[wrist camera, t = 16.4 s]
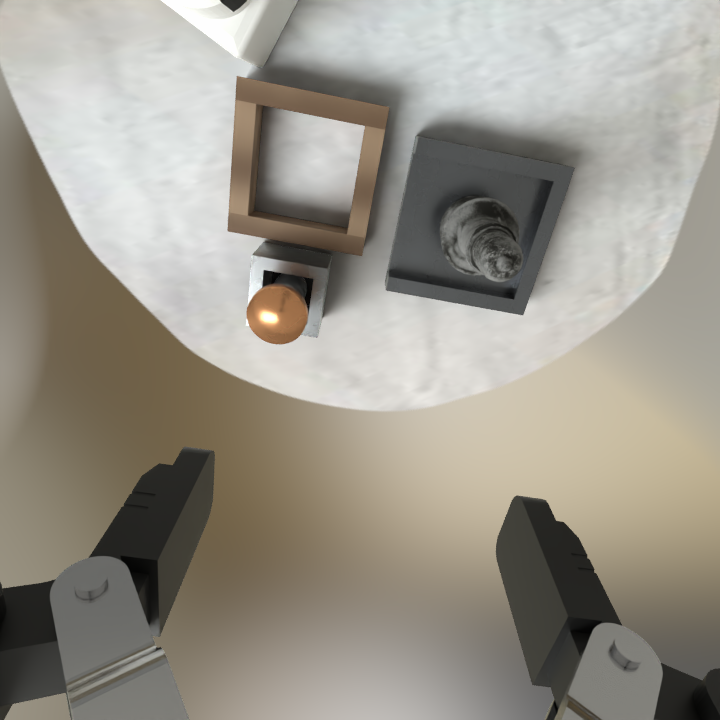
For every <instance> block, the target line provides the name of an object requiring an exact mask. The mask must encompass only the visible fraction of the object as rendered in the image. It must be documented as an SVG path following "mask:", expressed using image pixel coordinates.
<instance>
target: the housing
mask: <svg viewBox="0 0 720 720" xmlns="http://www.w3.org/2000/svg"><path fill="white" fill-rule="evenodd" d="M331 260H332V255H330V254H325V253H320V252H314V251H309V250H303V249H298V248H292V247H287V246H282V245H276V244H271V243H265V242H263V243H262V245H261V246H260V247H259V248H258V249H257V250H256V251H255V252H254V253H253V255H252V262H251V274H250V285H249V297H248V304H249V302H250V300H251V299H252V297H253V296H254V295H255V293H256V292H257V291H258V290H259V289H261V288H262V287H264V286H267V285H270V284H271V279H272V271H273V272H279V273H284V274H290V275H295V276H301V277H306V278H312V279H314V280H313V287H312V294H311V301H310V306H309V305H307V308H308V320H307V323H306V326H305V329H304V331H303V332H302V334H301V335H305V336H310V337H316V338H317V337H318V333H319V329H320V325H321V321H322V317H323V311H324V304H325V298H326V291H327V285H328V279H329V272H330V266H331ZM246 325H247V326H249V324H248V320H247V321H246Z"/></svg>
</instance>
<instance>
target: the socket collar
mask: <svg viewBox="0 0 720 720" xmlns="http://www.w3.org/2000/svg"><path fill="white" fill-rule="evenodd" d="M263 105H264V106H269V107H274V108H279V109H284V110H289V111H294V112H299V113H304V114H309V115H314V116H319V117H324V118H329V119H334V120H339V121H344V122H349V123H354V124H359V125H364V126H365V130H364V136H363V142H362V148H361V154H360V160H359V166H358V171H357V177H356V183H355V189H354V195H353V201H352V207H351V213H350V219H349V225H348V228H344V227H339V226H334V225H328V224H323V223H318V222H312V221H307V220H302V219H297V218H291V217H286V216H281V215H275V214H270V213H265V212H259V211H254V210H255V198H256V186H257V174H258V162H259V149H260V137H261V125H262V113H263ZM388 112H389V107H386V106H381V105H376V104H371V103H366V102H361V101H357V100H352V99H347V98H342V97H337V96H332V95H327V94H322V93H317V92H312V91H307V90H302V89H297V88H293V87H288V86H283V85H278V84H273V83H268V82H263V81H258V80H253V79H248V78H243V77H238V76H237V83H236V100H235V116H234V133H233V150H232V166H231V183H230V200H229V216H228V231H229V232H235V233H240V234H245V235H251V236H256V237H262V238H267V239H273V240H278V241H283V242H289V243H294V244H300V245H305V246H310V247H316V248H321V249H327V250H332V251H337V252H343V253H348V254H354V255H359V256H362V253H363V248H364V242H365V237H366V232H367V226H368V221H369V215H370V210H371V204H372V199H373V194H374V188H375V183H376V177H377V172H378V166H379V161H380V156H381V150H382V145H383V139H384V134H385V128H386V123H387V118H388Z"/></svg>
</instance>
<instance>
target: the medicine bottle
mask: <svg viewBox="0 0 720 720" xmlns="http://www.w3.org/2000/svg"><path fill="white" fill-rule="evenodd" d="M161 1H163V2H164V3H165V4H167V5H168V6H169V7H170V8H172V9H173V10H174V11H176V12H177V13H178V14H180V15H181V16H182V17H184V18H185V19H186V20H188V21H189V22H190V23H192V24H193V25H194V26H196V27H197V28H198V29H200V30H201V31H202V32H203V33H205V34H206V35H207V36H209V37H210V38H211V39H213V40H214V41H215V42H217V43H218V44H219V45H221V46H222V47H223V48H225V49H226V50H227V51H229V52H230V53H231V54H233V55H234V56H235V57H237V58H239V59H241V60H244V61H246V62H248V63H250V64H252V65H255V66H257V67H259V68H262V67H263V66H264V65H265V63H266V61H267V59H268V57H269V55H270V54H271V52H272V50H273V48H274V46H275V44H276V42H277V40H278V38H279V36H280V34H281V32H282V31H283V29H284V27H285V25H286V23H287V21H288V19H289V17H290V15H291V13H292V11H293V9H294V8H295V6H296V4H297V2H298V0H161Z"/></svg>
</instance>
